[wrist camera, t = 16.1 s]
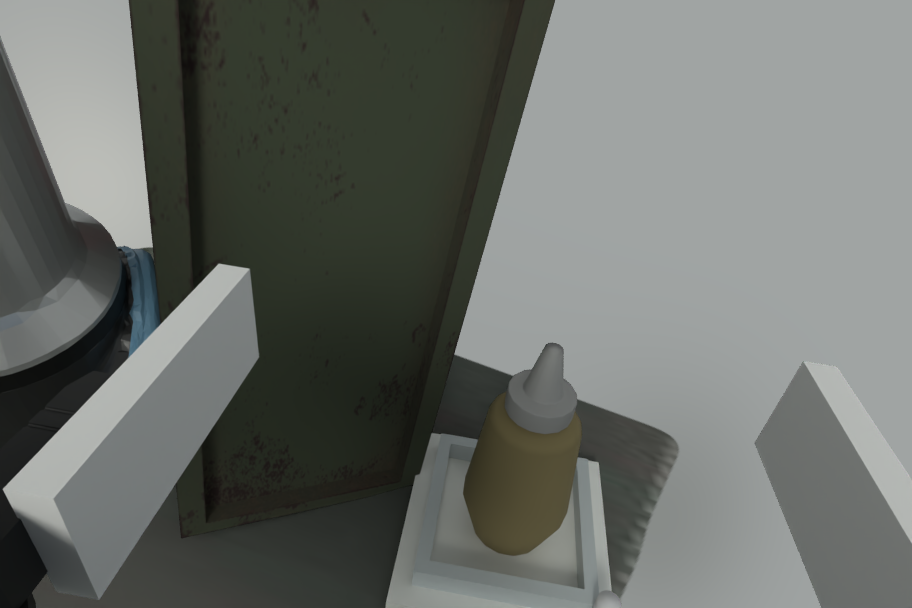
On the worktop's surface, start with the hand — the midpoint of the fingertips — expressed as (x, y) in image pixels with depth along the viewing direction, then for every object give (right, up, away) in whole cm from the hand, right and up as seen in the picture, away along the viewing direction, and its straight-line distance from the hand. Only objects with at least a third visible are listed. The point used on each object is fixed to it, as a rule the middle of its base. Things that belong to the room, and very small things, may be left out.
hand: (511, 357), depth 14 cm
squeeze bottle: (+3, -16, +32) cm, 36 cm away
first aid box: (-17, -10, +38) cm, 43 cm away
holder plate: (+3, -17, +32) cm, 37 cm away
